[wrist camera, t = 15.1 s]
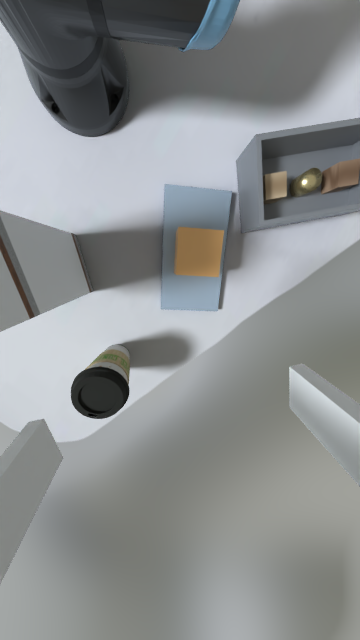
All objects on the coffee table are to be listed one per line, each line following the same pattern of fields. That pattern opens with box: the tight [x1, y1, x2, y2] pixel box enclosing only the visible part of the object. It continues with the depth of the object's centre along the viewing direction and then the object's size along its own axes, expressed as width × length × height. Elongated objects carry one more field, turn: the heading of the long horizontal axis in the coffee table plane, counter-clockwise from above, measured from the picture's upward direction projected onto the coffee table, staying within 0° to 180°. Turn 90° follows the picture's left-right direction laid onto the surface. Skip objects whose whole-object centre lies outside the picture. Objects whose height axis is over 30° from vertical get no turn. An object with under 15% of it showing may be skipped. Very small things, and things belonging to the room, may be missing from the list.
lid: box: [161, 184, 232, 311], centre depth 38 cm, size 13×24×8 cm, turn 177°
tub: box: [236, 118, 360, 233], centre depth 36 cm, size 13×24×8 cm, turn 100°
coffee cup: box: [71, 345, 130, 419], centre depth 39 cm, size 10×10×15 cm
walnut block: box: [321, 159, 360, 194], centre depth 37 cm, size 4×4×4 cm
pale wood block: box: [263, 171, 287, 204], centre depth 36 cm, size 4×4×4 cm
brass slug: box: [289, 168, 322, 198], centre depth 37 cm, size 4×4×4 cm
